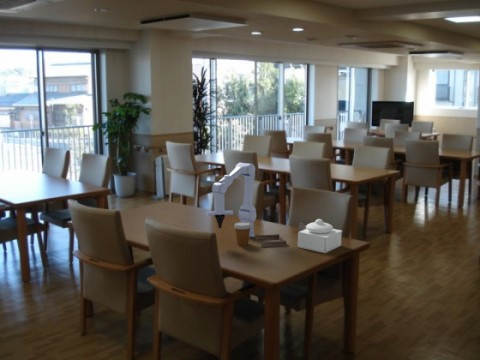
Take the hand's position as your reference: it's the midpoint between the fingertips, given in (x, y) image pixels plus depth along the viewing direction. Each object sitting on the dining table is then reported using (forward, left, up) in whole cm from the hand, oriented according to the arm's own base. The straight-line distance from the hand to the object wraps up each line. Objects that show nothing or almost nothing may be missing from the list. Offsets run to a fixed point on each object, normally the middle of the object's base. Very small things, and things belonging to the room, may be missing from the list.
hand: (219, 227), depth 307 cm
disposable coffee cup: (0, +13, -11) cm, 17 cm away
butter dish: (+13, +54, -10) cm, 57 cm away
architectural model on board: (-7, +53, -11) cm, 55 cm away
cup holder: (0, +29, -10) cm, 31 cm away
